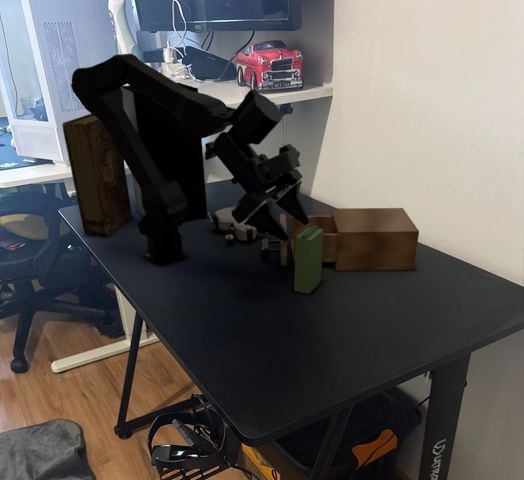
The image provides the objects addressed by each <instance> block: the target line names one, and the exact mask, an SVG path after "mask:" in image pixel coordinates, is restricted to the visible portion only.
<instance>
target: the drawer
mask: <svg viewBox="0 0 524 480" xmlns="http://www.w3.org/2000/svg"><path fill="white" fill-rule="evenodd" d="M290 216H291V215H290ZM307 216H308V218H309V223H308V224H307V225H304V224H302V223H301V222H299V221H298V220H297V219H295V218H294V217H293V216H291V217H290V218H291V220H290V221H291V222H290V223H291V224H290V245H291V255H292V263H295V243H296V237H297V236H298V235H299V234H301V233H302V232H303V231H304V230H306V229H307V228H308V227H312V226H313V225H315V226H319V228H318V229H324V232H323V251H322V263H334V262H336V257H337V243H338V232H337V229H336V226H335V223H334V219H333V216H332V215H331V214H329V215H325V214H324V215H307ZM279 221H280V223H281V224H282V226H283V227H284V229H285V230H286V232H287V233H288V229H287V228H288V227H287V217H286V213H280V214H279ZM269 244H279V248H270V247H269V246H270V245H269ZM269 253H280V255H279V257H280V266H287V265H288V240H287V241H283V240H281V239H269V238H267V237H263V238H262V240H261V254H262V255H268V254H269Z"/></svg>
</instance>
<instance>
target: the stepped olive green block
mask: <svg viewBox="0 0 524 480" xmlns="http://www.w3.org/2000/svg"><path fill="white" fill-rule="evenodd" d="M318 228H319V226H315V225H313V226H312V227H308V228H307V229H306V230H304V231H303V232H302V233H301V234H299V235H298V236H297V237H296V243H295V262H294V286H293V287H294V289H293V291H294V292H297V293H303V294H308V295H309V294H310V293H312V292H313V290H315V288H317V286H318V285H319V284H320V283H321V282H322V269H323V268H322V267H323V262H322V251H323V232H324V229H318Z"/></svg>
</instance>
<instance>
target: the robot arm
mask: <svg viewBox="0 0 524 480" xmlns="http://www.w3.org/2000/svg"><path fill="white" fill-rule="evenodd" d="M177 83H178V82H176V81H174V80H172V79H171V78H169V77H167V76H166V75H164V73H161V72H160V71H158V70H156V69H155V68H153V67H152V66H150V65H148V64H147V63H146V62H144V61H142V60H140V58H139V57H138V56H137V55H135V54H134V53H119V54H114V55H113V56H112V57H110V58H108V59H106V60H104V61H102V62H100V63H97V64H94V65H92V66H87V67H79V68H76V69H75V70H74V71H73V72H72V76H71V84H70V87H71V90H72V93H73V94H74V96H75V98H76V99H77V100H78V101H79V103H80V104H81V105H82V106H83V108H84V109H85V110H86V111H87V112H88V113H89V114H93V115H94V116H96V117H97V118H98V119H100V120H101V122H102V123H103V125H104V127H105V128H106V130H107V132H108V133H109V135H110V137H111V139H112V140H113V142H114V144H115V145H116V147H117V149H118V151H119V152H120V154H121V156H122V157H123V160H124V163H125V164H126V166H127V168H128V169H129V171H130V173H131V175H132V174H133V176H134V178H135V180H136V181H137V183H138V185H139V186H140V189H141V198H142V206H143V208H144V211H145V213H146V214H145V216H142V218H141V219H140V220H139V221H138V223H137V228H138V231H139V233H140V235H142V236H145V238H146V244H147V253H145V254H144V257H145V258H146V259H149V260H150V261H152V262H154V263H156V264H157V265H160V266H162V265H166V264H169V263H172V262H175V261H178V260H181V259H184V258H186V254H185V253H183V242H182V234H181V233H180V229H179V227H180V226H183V223H184V221H183V220H184V218H185V216H186V214H187V209H188V205H187V202H186V200H185V199H187V197H186V196H185V195H184V194H183V192H182V191H181V188H180V186H179V184H178V182H177V181H176V180H175V181H172V182H168V181H167V180H166V179H164V178H163V177H162V175H161V174H160V172H159V170H158V168H157V167H156V165H155V163H154V161H153V160H152V158H151V156H150V154H149V153H148V151H147V149H146V147H145V146H144V144H143V142H142V140H141V138H140V137H139V135H138V133H137V131H136V130H135V128H134V126H133V124H132V123H131V121H130V119H129V117H128V116H127V114H126V112H125V110H124V108H123V93H122V90H121V87H122V86H131V87H133V88H135V89H136V90H138V91H139V92H141V93H143V94H144V95H146V96H147V97H149V98H151V99H152V100H154V101H155V102H157V103H158V104H160V105H162V106H163V107H165V108H166V109H168V110H170V111H171V112H172V113H173V114H174V115H175V116H176V117H177V119H178V121H179V123H180V124H181V125H182V126H183V127H184V128H185V129H186V130H187V131H189V132H190V133H191V134H192V135H193V136H195V137H197V138H202V139H205V138H209V137H211V136H214V135H217V134H218V135H217V137H215V139H214V140H213V141H209V142H206V143H205V145H204V146H205V151H204V159H205V160H206V161H209V160H211V159H214V158H216V157H217V158H218V159H219V161H220V162H221V163H222V164H223V166H224V167H225V168H226V169H227V170H228V172H229V173H230V174H231V175H232V178H231V179H230V182H231V183H232V184H233V185H236V184H239V185H240V187H241V188H242V189H243V190H244V191H245V194H243V195H242V197H241V198H240V199H239V200H237V202H236V203H235V204H234V205H233V206H231V207H232V208H231V209H232V217H233V218H234V219H235V220H236V222H237V223H238V224H240V223H241V222H243V221H244V220H246V219H247V218H248V220H247V221H246V222H244V224H245V225H250V226H252V227H255V228H257V229H260V230H262V231H264V232H266V233H269V235H270V236H272V237H274V238H276V239H278V240H280V239H281V240H283V241H287V242H288V241H289V239H290V235H289V234H288V231H287V232H286V230H285V229H284V227H283V226H282V224H281V223H280V219H279V218H278V217H277V215H276V214H275V212H274V206H273V205H274V204H273V200H274V201H276V202H275V205H276V206H278V207H279V208H281V209H282V210H283V211H284V212H286V213H287V214H289V215H290V216H293V217H294V218H295V219H297V220H298V221H299V222H301V223H302V224H304V225H307V224H308V223H309V218H308V216H309V215H308V213H307V211H306V209H305V206H304V203H303V201H302V197H301V193H300V192H301V186H302V184H303V180H301V179H302V178H304V176H303V175H302V174H301V172H300V171H299V170H298V169H297V168H299V167H301V163H300V160H299V158H300V156H301V153H300V151H298V150H297V148H296V147H294V146H293V145H292V144H291V143H287V144H286V145H283V146H281V147H279V148H278V154H276V155H274V156H272V157H270V158H269V157H268V156H267V155H266V153H265V154H264V153H261V154H258V153H257V152H256V150H255V149H254V148H253V147H252V146H251V145H252V144H253V145H257V146H258V145H260V144H261V143H262V142H264V140H265V139H266V138H267V137H268V136H269V135H270V133H272V131H273V130H274V129H275V128H276V127H277V125H278V124H280V122H281V121H282V120H283V119H282V118H283V115H282V112H281V110H280V109H279V107H278V106H277V104H276V103H275V102H274V101H271V100H270V99H269V98H268V97H267V96H265V95H263V94H261V93H260V92H259V91H258V90H257V89H256V88H254V89H250V90H249V91H247V93H246V94H245V96H244V97H243V100H242V101H241V102H240V104H239V105H238V106H237V107H236V108H234V107H230V106H227V105H226V103H225V102H224V101H223V100H222V99H219V98H217V97H214V96H212V95H209V94H207V93H203V92H202V93H201V92H199V91H198V92H193V91H190V90H188V89H185V88H184V87H182V86H181V85H179V84H177ZM230 126H231V127H230ZM228 127H230V128H229V129H228V130H227V131H225V130H226V129H227V128H228Z"/></svg>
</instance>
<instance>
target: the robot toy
mask: <svg viewBox="0 0 524 480" xmlns="http://www.w3.org/2000/svg"><path fill="white" fill-rule="evenodd" d="M232 207H233V206H229V207H223V208H221V209H217V210H216V211H215V212H214V214H213V215H212V216H211V215H210V212H209V211H207V216H208V217H209V220H210V223H211V224H213V225H214V226H215V227H216V228H218V229H219V230H221V231H225V236H224V237H225V240H226V241H227V240H229V241H233V240H235V239H234V238H236V239H238V241H239V242H240V241H241V242H243V241H245V242H246V241H251V240H255V239H256V237H257V234H258V233H259V234H261V235H263V236H264V235H265V236H266V235H269V236H270V234H269V233H266V232H264V231H262V230H260V229H257V228H255V227H252V226H250V225H245V224H244V222H246V221H247V220H248V218H247V219H246V220H244V221H243V222H241V223H240V224H238V223H237V222H236V220H235V219H234V218H233V217H232V209H231V208H232Z"/></svg>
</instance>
